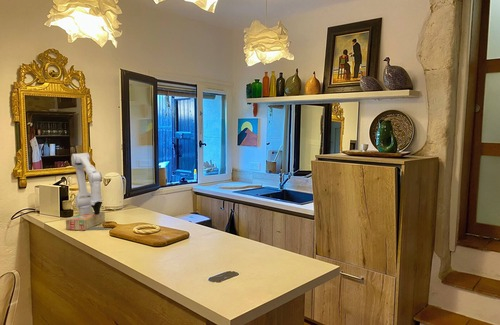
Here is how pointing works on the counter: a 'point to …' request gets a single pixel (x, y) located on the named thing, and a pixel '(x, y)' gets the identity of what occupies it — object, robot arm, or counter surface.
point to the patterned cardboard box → (84, 221)
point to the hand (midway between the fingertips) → (97, 214)
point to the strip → (96, 228)
